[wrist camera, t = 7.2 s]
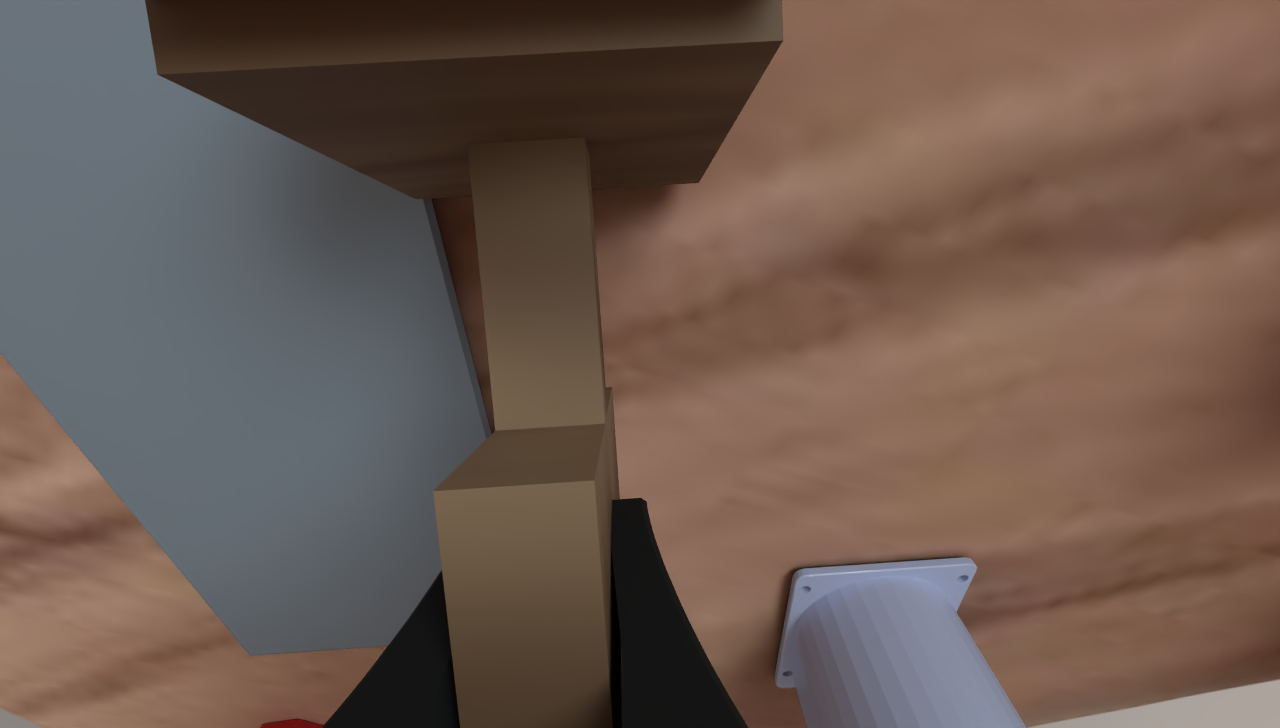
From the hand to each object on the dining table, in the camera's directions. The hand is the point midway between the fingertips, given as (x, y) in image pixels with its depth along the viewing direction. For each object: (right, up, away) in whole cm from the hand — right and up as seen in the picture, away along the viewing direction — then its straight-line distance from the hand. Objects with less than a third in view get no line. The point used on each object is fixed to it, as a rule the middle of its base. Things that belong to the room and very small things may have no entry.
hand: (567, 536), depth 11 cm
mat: (-10, +2, +6) cm, 12 cm away
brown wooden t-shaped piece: (0, +3, +3) cm, 4 cm away
